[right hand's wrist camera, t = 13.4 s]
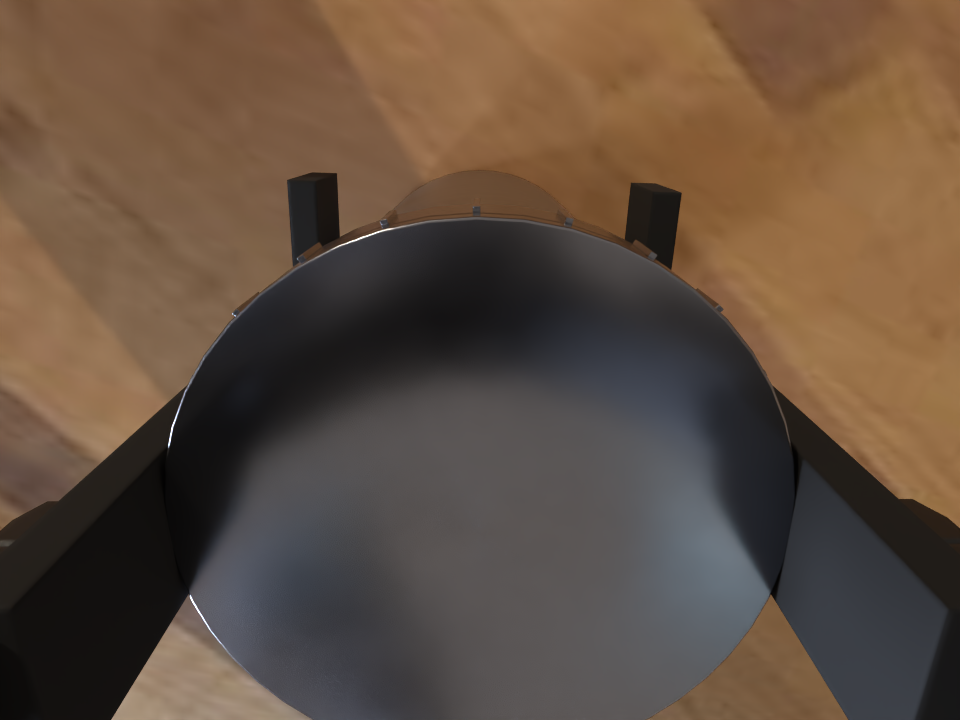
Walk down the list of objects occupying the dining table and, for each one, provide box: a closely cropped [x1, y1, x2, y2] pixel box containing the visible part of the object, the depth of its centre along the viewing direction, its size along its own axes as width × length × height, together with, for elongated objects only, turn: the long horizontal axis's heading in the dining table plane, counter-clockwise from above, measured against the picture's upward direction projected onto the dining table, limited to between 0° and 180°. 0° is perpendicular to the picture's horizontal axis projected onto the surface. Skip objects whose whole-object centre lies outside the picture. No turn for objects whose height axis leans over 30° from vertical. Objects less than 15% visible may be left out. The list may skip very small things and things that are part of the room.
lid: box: [164, 198, 795, 720], centre depth 11 cm, size 10×10×2 cm
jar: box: [393, 170, 575, 219], centre depth 18 cm, size 9×9×16 cm
